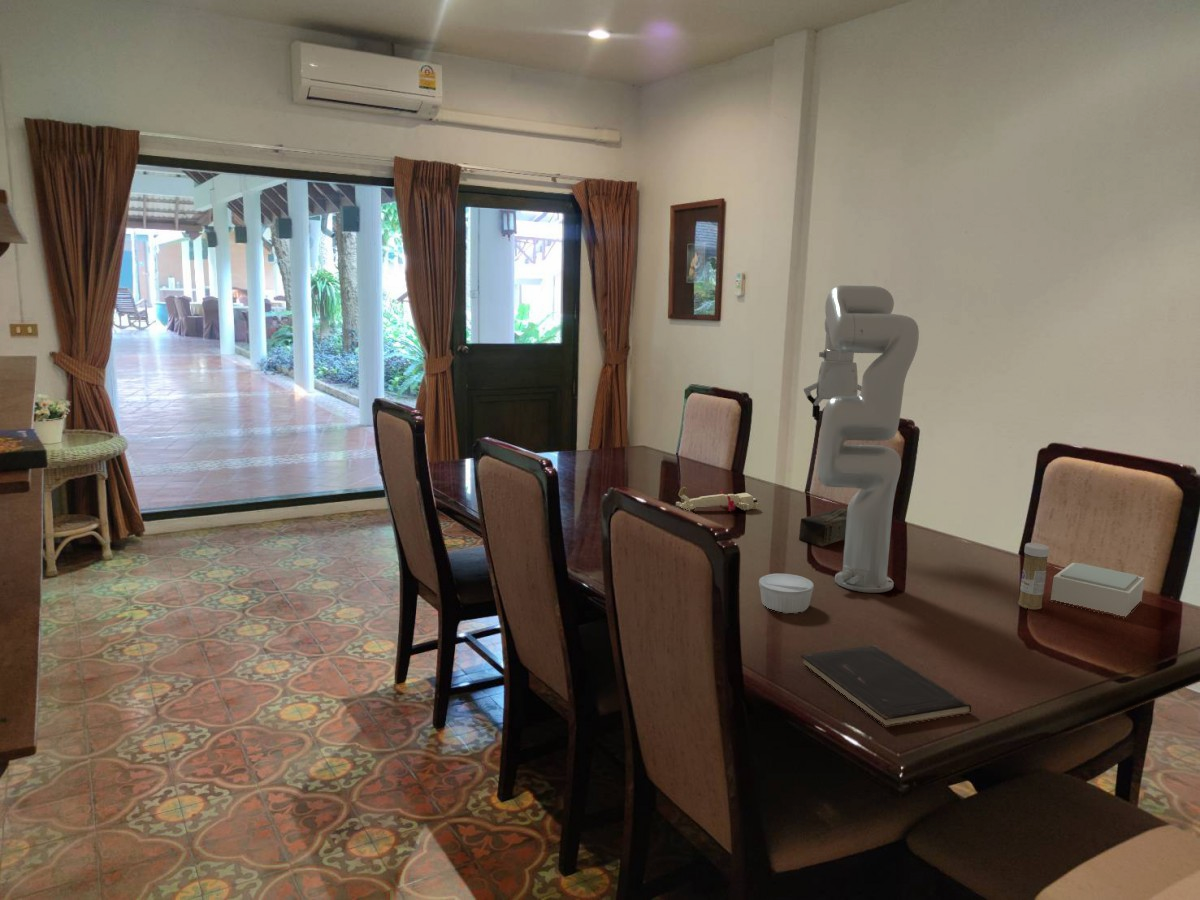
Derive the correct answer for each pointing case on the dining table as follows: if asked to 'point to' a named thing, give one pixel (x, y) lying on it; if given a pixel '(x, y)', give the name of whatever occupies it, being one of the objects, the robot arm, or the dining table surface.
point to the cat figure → (718, 501)
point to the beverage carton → (824, 527)
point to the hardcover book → (884, 685)
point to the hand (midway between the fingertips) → (834, 420)
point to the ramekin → (786, 592)
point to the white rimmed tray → (1098, 588)
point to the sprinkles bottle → (1033, 575)
